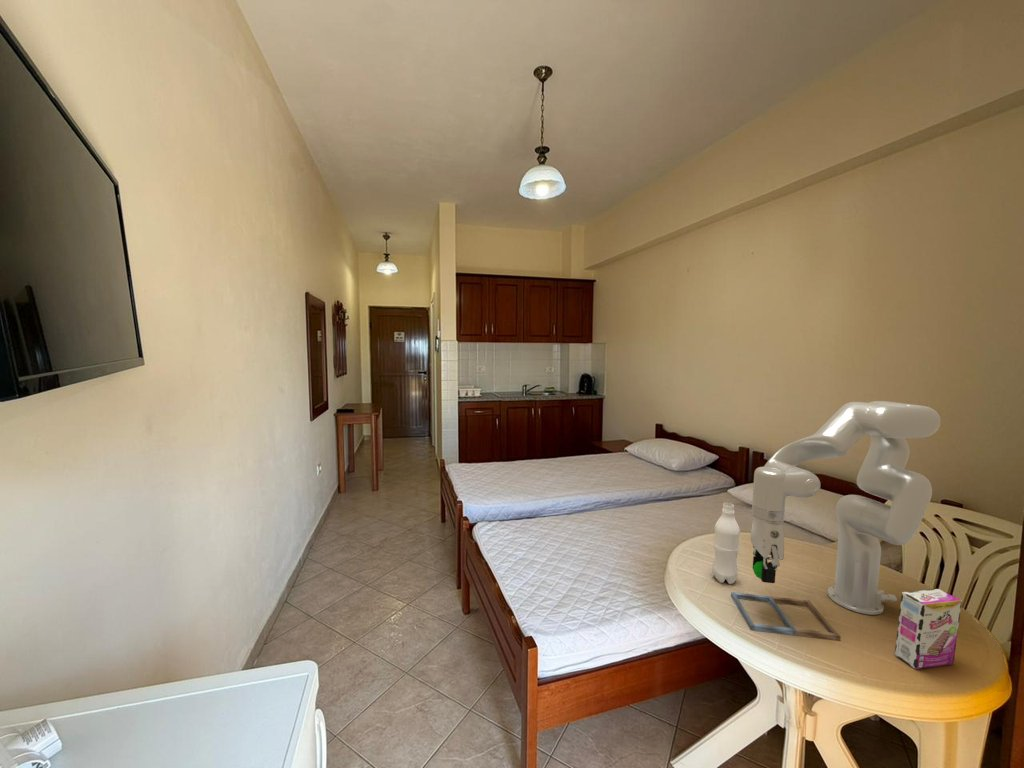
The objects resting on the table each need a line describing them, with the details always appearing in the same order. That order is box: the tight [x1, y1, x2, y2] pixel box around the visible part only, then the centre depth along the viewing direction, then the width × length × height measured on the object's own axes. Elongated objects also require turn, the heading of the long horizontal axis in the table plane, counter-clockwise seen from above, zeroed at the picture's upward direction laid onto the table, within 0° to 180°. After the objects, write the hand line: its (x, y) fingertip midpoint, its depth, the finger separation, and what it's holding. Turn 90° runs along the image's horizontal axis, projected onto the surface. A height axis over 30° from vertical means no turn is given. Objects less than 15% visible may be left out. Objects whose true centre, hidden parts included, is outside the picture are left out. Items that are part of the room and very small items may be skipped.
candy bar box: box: [894, 588, 963, 670], centre depth 96 cm, size 11×5×16 cm, turn 99°
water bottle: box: [712, 502, 741, 585], centre depth 129 cm, size 7×7×25 cm
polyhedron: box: [752, 561, 769, 580], centre depth 112 cm, size 5×5×5 cm
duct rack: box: [730, 591, 842, 642], centre depth 112 cm, size 21×15×1 cm
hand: (763, 575), depth 112 cm, fingers closed on polyhedron, 5 cm apart
